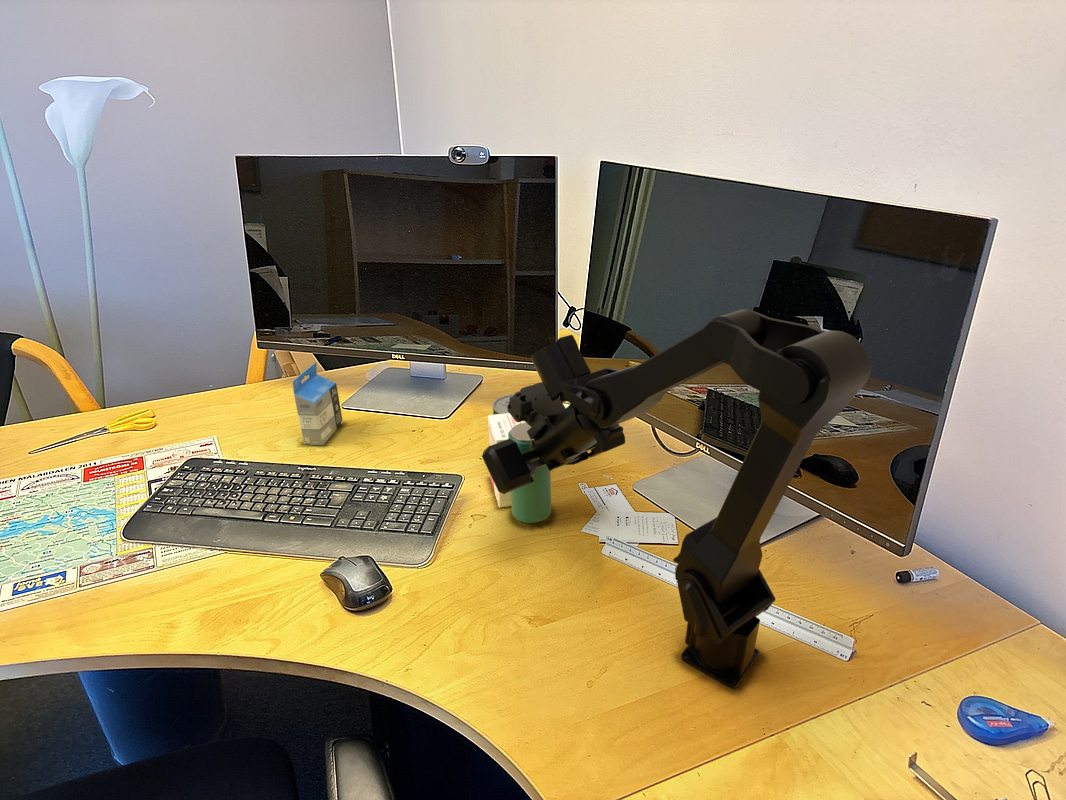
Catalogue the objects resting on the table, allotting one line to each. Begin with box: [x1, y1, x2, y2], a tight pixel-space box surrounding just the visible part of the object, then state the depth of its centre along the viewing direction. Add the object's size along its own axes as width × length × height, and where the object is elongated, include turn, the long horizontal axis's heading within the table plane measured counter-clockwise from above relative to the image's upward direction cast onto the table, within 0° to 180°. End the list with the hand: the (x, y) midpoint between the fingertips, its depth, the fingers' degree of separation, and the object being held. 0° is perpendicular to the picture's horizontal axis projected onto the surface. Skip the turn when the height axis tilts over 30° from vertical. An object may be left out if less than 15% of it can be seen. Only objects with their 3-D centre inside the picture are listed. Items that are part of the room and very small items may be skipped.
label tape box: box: [292, 361, 344, 446], centre depth 120 cm, size 9×4×12 cm, turn 171°
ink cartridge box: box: [487, 413, 526, 508], centre depth 102 cm, size 9×5×15 cm, turn 13°
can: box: [508, 423, 552, 524], centre depth 96 cm, size 6×6×13 cm
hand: (524, 469), depth 97 cm, fingers closed on can, 6 cm apart
